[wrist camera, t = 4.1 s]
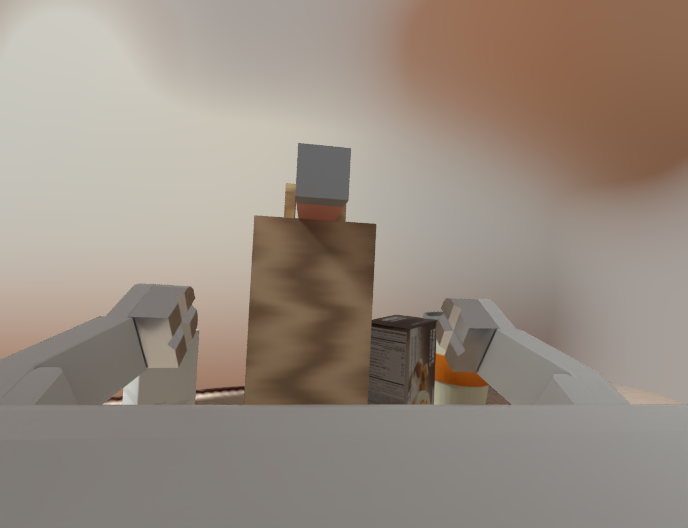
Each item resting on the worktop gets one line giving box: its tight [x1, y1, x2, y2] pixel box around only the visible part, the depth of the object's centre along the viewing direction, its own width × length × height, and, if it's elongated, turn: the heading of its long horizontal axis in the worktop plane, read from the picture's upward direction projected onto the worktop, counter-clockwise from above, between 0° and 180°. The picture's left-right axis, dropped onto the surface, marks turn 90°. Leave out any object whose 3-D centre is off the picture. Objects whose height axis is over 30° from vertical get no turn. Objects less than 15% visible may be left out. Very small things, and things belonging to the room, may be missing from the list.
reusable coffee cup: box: [423, 312, 489, 405], centre depth 53 cm, size 13×13×15 cm
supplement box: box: [122, 329, 199, 405], centre depth 44 cm, size 7×7×13 cm
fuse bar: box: [296, 143, 351, 221], centre depth 27 cm, size 3×18×3 cm, turn 7°
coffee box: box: [368, 315, 437, 405], centre depth 40 cm, size 9×6×16 cm
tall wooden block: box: [244, 183, 376, 405], centre depth 30 cm, size 10×10×30 cm
